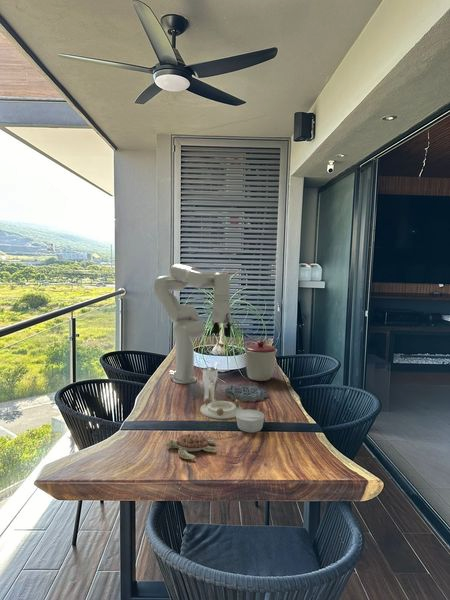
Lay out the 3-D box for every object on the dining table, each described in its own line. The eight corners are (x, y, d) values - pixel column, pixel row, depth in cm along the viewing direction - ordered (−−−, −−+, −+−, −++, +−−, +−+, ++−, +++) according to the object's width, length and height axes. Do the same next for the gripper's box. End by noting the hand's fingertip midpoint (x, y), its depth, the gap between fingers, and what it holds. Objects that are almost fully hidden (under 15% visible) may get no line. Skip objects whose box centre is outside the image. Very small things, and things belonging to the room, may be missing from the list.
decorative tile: (273, 393, 194) (273, 388, 194) (257, 405, 176) (257, 400, 176) (236, 386, 203) (236, 382, 203) (218, 398, 185) (218, 393, 185)
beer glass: (219, 400, 181) (220, 368, 180) (213, 404, 175) (213, 371, 174) (206, 397, 184) (207, 366, 183) (199, 402, 178) (199, 369, 177)
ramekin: (244, 436, 144) (244, 422, 144) (230, 424, 154) (230, 411, 154) (270, 430, 149) (270, 417, 149) (254, 420, 159) (254, 407, 159)
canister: (281, 377, 220) (282, 340, 218) (266, 385, 205) (268, 345, 203) (252, 372, 230) (254, 336, 228) (237, 379, 214) (238, 341, 212)
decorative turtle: (168, 437, 142) (168, 424, 142) (214, 437, 143) (214, 424, 143) (164, 463, 124) (164, 447, 124) (216, 462, 125) (216, 447, 125)
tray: (193, 415, 163) (193, 406, 162) (209, 401, 180) (209, 392, 179) (234, 421, 157) (235, 412, 156) (247, 406, 174) (247, 398, 173)
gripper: (205, 297, 192) (205, 332, 193) (225, 300, 178) (225, 337, 179) (218, 297, 196) (218, 331, 197) (238, 299, 182) (238, 336, 183)
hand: (221, 334), depth 188 cm, fingers open, 9 cm apart
